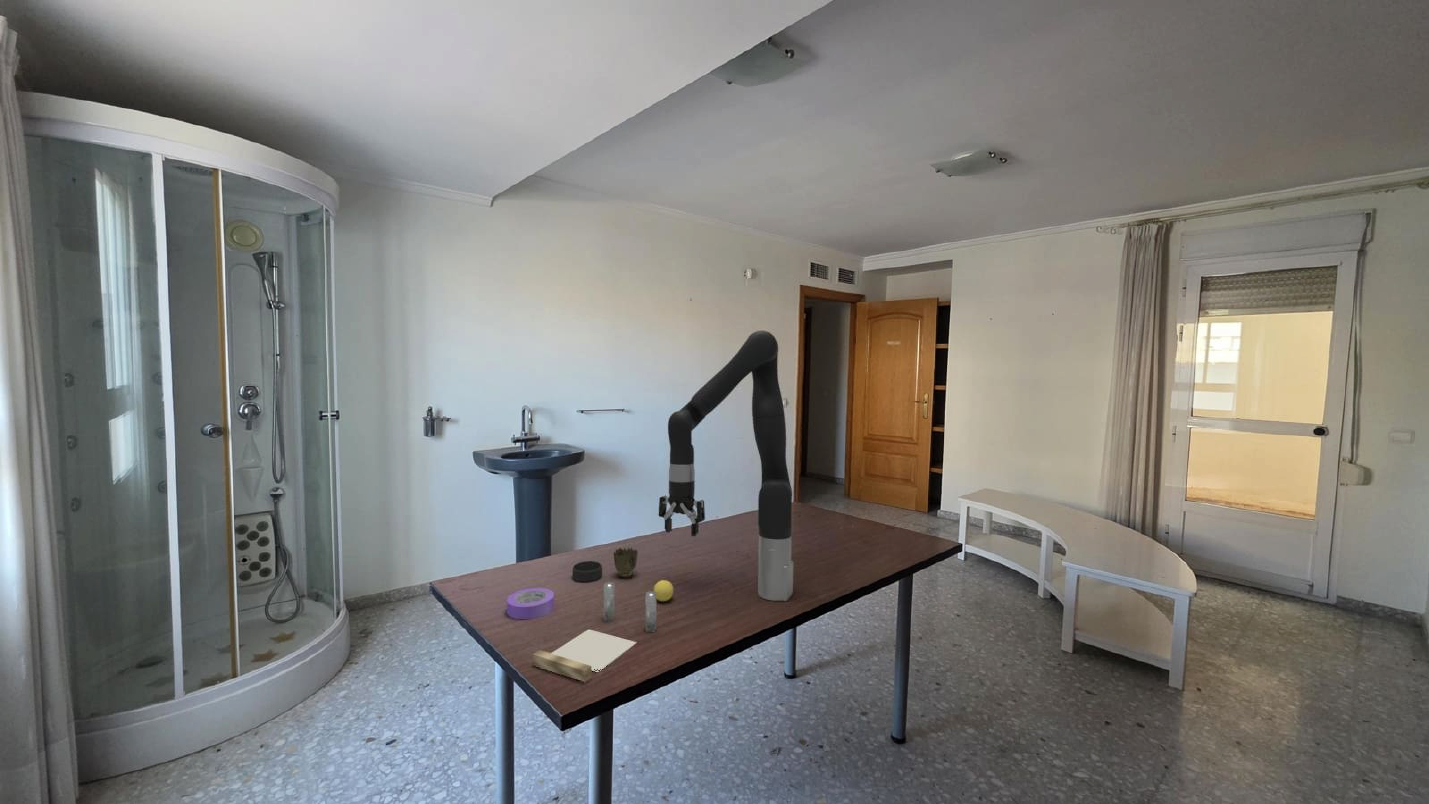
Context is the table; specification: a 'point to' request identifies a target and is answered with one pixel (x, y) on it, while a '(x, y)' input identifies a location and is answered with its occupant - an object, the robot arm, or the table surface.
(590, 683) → the table surface
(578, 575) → the smart speaker
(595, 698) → the table surface
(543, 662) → the strip
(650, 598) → the post right
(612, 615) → the post left
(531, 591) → the masking tape
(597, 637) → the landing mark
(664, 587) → the ball
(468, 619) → the table surface
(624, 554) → the cup
